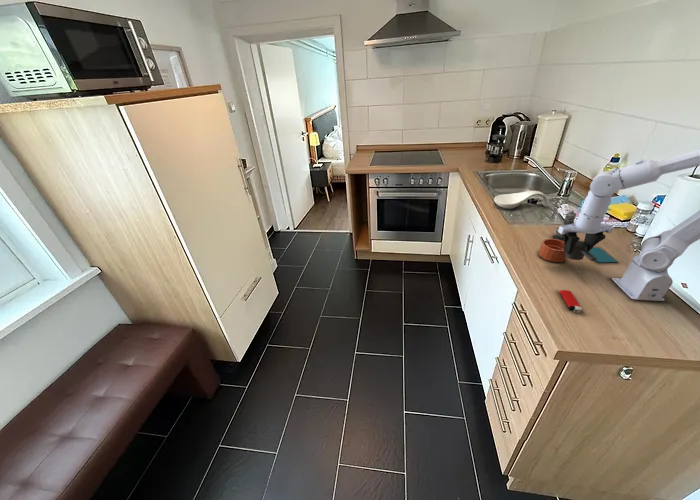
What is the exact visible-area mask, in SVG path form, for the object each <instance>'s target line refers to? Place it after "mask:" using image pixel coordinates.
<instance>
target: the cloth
mask: <svg viewBox="0 0 700 500" xmlns="http://www.w3.org/2000/svg"><path fill="white" fill-rule="evenodd" d="M589 253H591V254H592V255H593V256H594V257H596V258H597V259H596V261H595V262H596V263H597V264H612V263H613V264H615V263H616V264H617V263H618V260H616V259H615V258H614V257H612V256H611V255H610V254H608V253H607V252H605V251H604V250H603V249H601V247H593V248H592V249H591V250H590V251H589Z"/></svg>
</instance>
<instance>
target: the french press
mask: <svg viewBox="0 0 700 500" xmlns="http://www.w3.org/2000/svg"><path fill="white" fill-rule="evenodd" d="M497 127H498V128H500V131H499V134H493V135H492V141H493V142H491V143H488V144H487V148H486V152H485V153H486V154H485V158H486V159H487V160H486V162H487V163H490V164H500V163H502V162H503V154H504V151H505V147H506V143H505V142H503V141H506V140H507V138H508V135H506V134H501V133H502V130H503V128H506V126H505V125H499V126H497ZM500 141H501V142H500Z"/></svg>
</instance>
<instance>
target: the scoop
mask: <svg viewBox="0 0 700 500" xmlns="http://www.w3.org/2000/svg"><path fill="white" fill-rule="evenodd" d="M587 248H588V244H587V243H585V242H584V240H583V241H582V240H578V242H577V243H576V244H575V246H574V247H573V250H572V252H571V253H570V254H567V253H565V256H566V258H568V259H570V260H573V261H581V260H583V259H584V257H586V258H587V259H588V260H589V261H591V262H593V261H595V262H597V261H596V259H597V258H596V257H594V256H593V255H592V254H591V253H589V252H588V251H587Z"/></svg>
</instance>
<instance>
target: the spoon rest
mask: <svg viewBox="0 0 700 500" xmlns="http://www.w3.org/2000/svg"><path fill="white" fill-rule="evenodd" d="M533 196H539V197H542V202H541V204H542V205H543V207H545V208H548V207H549V204H550V201H549V197H548V196H547V195H546V194H544V193H543V192H541V191H539V190H526V191H520V192H514V193H504V194H498V195H496V196H495V197H494V198H493V200H494V203H495V204H496V205H497V206H498V207H501V208H503V209H506V210H511V209H515V208H516V207H519V206H520V205H521V204H522V203H524V202H525V201H527V200H528V199H530V198H531V197H533Z"/></svg>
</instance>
